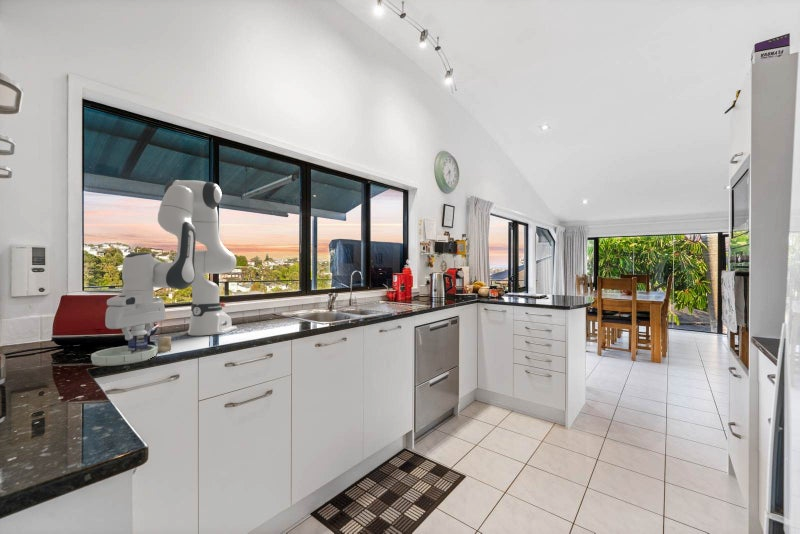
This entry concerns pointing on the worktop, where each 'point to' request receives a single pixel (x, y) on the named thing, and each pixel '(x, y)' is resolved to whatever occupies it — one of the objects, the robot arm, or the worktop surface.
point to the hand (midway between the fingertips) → (137, 337)
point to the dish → (121, 356)
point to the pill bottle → (138, 339)
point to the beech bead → (164, 344)
